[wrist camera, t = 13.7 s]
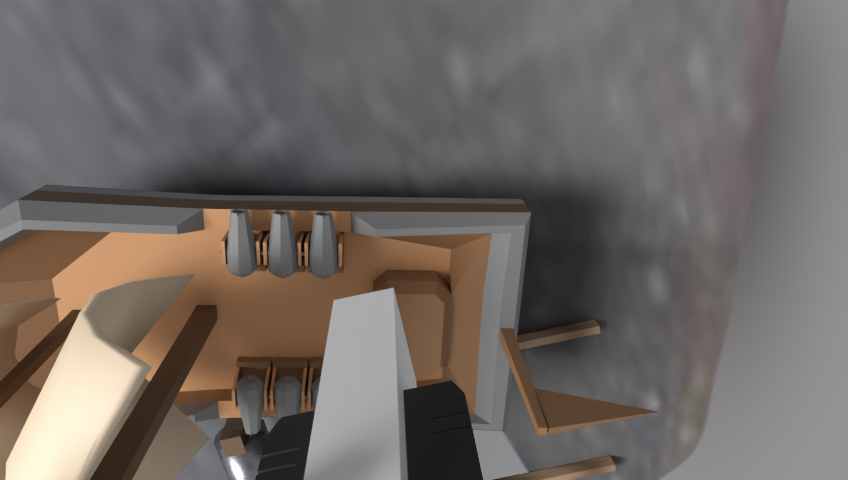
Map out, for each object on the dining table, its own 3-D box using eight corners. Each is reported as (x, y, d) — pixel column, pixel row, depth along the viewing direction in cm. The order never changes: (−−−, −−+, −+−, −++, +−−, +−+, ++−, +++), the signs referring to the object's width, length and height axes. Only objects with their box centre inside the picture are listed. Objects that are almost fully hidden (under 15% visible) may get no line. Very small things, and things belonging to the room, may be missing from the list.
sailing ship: (-36, 153, 45) (-580, 345, 19) (575, 173, 48) (787, 360, 23) (6, 350, 50) (-373, 697, 25) (549, 356, 54) (697, 667, 29)
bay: (392, 506, 59) (392, 518, 57) (353, 369, 53) (352, 379, 52) (611, 461, 58) (616, 472, 57) (594, 319, 53) (600, 327, 51)
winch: (268, 502, 58) (253, 566, 51) (225, 389, 53) (203, 443, 46) (310, 493, 57) (300, 556, 51) (271, 380, 53) (255, 433, 46)
